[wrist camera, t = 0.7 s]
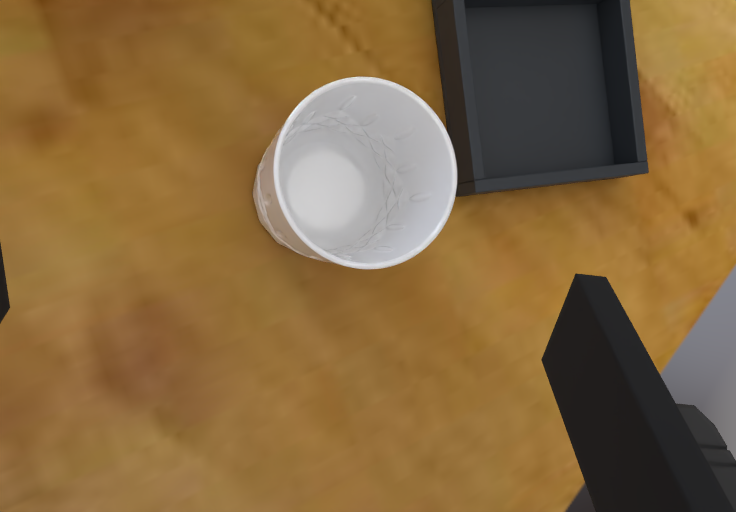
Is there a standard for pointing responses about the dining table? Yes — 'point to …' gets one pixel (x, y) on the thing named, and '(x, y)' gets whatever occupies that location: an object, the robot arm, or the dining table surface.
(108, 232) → the dining table surface
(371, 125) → the white cup
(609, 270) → the dining table surface
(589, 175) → the divided tray
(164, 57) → the dining table surface
